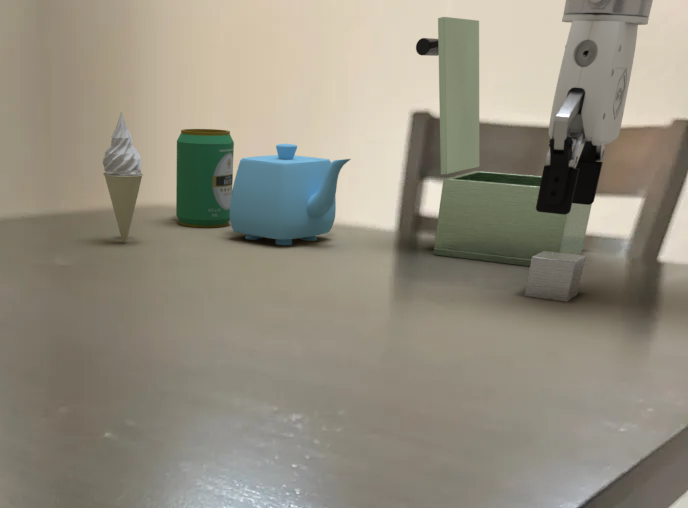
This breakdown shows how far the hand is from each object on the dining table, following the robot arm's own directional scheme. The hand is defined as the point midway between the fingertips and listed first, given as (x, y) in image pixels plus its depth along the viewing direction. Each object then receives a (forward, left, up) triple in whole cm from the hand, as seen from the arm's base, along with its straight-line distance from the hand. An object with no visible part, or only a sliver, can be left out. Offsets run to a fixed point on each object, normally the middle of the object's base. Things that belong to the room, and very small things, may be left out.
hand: (565, 207), depth 98 cm
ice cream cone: (+52, +18, -9) cm, 55 cm away
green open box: (+19, -19, -9) cm, 28 cm away
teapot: (+42, -2, -9) cm, 43 cm away
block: (0, 0, -9) cm, 9 cm away
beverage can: (+59, -1, -9) cm, 60 cm away
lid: (+27, -16, +9) cm, 33 cm away
